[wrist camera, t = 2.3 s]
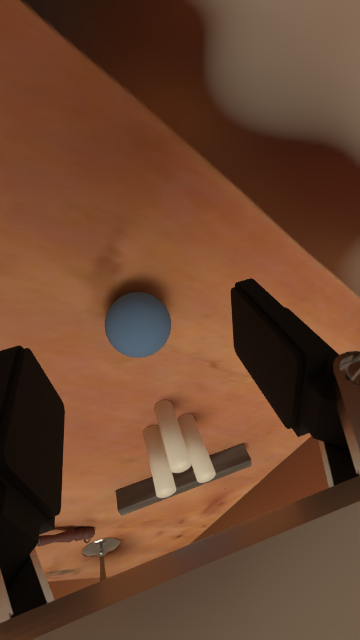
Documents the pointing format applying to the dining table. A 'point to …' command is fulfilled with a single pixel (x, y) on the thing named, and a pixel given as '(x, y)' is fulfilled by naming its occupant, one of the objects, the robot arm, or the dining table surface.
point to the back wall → (181, 480)
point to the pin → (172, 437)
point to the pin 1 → (159, 462)
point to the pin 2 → (196, 449)
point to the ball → (137, 324)
